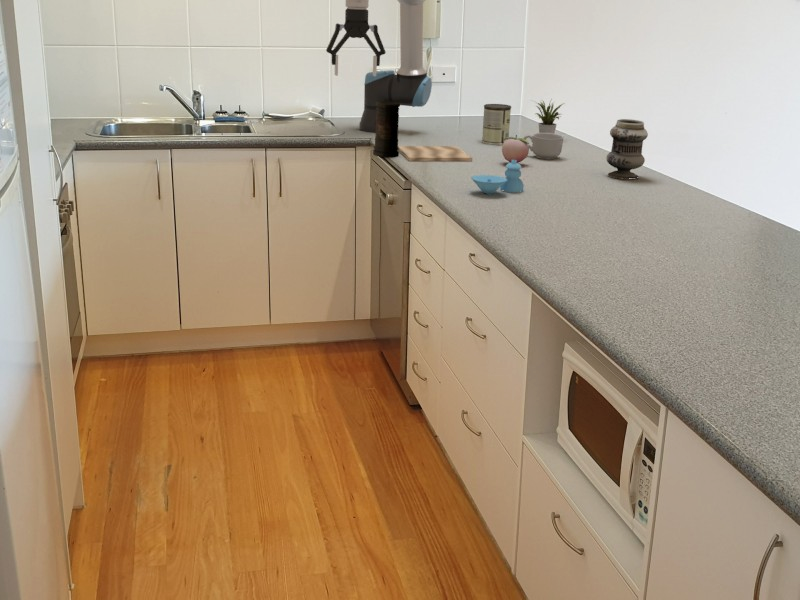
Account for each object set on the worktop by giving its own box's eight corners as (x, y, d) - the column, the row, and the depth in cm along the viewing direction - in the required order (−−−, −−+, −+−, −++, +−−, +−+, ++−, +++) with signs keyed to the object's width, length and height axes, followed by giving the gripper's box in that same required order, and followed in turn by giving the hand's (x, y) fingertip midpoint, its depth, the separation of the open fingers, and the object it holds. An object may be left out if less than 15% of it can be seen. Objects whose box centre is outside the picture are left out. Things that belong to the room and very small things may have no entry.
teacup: (565, 157, 325) (567, 134, 322) (556, 161, 316) (559, 138, 313) (527, 152, 330) (529, 130, 328) (518, 157, 321) (520, 134, 318)
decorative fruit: (497, 165, 305) (499, 135, 302) (503, 161, 313) (505, 132, 309) (524, 168, 302) (527, 138, 299) (530, 163, 310) (532, 134, 306)
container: (372, 152, 319) (373, 100, 313) (397, 153, 320) (399, 101, 314) (373, 157, 310) (375, 103, 304) (399, 157, 311) (402, 104, 305)
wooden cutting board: (408, 161, 306) (409, 157, 305) (397, 149, 326) (397, 146, 326) (472, 161, 310) (472, 157, 310) (456, 149, 330) (456, 146, 330)
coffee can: (481, 139, 353) (484, 103, 349) (508, 141, 353) (511, 104, 348) (481, 144, 344) (483, 106, 339) (508, 145, 343) (511, 107, 338)
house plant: (520, 140, 356) (524, 97, 351) (529, 135, 368) (533, 94, 363) (556, 143, 351) (560, 101, 346) (564, 138, 363) (568, 97, 358)
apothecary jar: (621, 181, 287) (628, 124, 281) (596, 174, 297) (603, 118, 291) (650, 179, 293) (657, 123, 287) (625, 172, 303) (632, 117, 297)
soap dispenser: (487, 199, 257) (489, 167, 254) (462, 192, 265) (464, 161, 262) (532, 192, 268) (535, 162, 265) (507, 185, 275) (510, 156, 272)
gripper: (320, 7, 292) (320, 75, 299) (395, 10, 297) (393, 77, 304) (318, 6, 299) (317, 73, 306) (391, 9, 304) (389, 75, 311)
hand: (355, 75), depth 305 cm, fingers open, 12 cm apart
